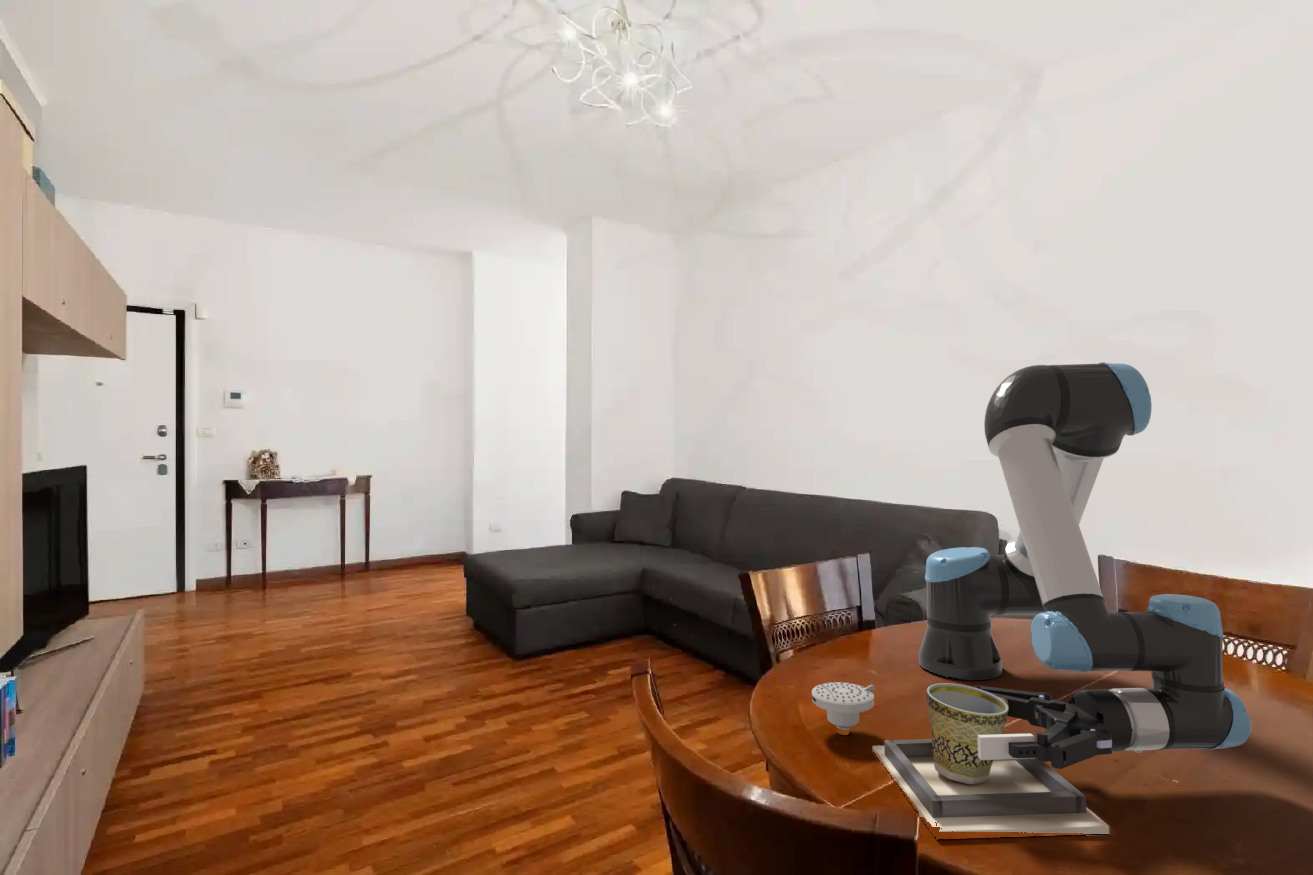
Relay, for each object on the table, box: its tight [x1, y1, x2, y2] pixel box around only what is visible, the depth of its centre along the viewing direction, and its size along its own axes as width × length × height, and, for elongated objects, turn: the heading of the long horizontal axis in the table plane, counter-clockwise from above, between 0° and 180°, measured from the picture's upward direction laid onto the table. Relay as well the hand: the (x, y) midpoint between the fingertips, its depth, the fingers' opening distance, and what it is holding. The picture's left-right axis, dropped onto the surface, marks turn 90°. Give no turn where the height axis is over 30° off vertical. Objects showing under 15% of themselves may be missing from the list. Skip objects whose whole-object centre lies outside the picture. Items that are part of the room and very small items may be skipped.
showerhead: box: [811, 681, 876, 730], centre depth 107 cm, size 9×7×10 cm
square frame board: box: [872, 738, 1110, 835], centre depth 89 cm, size 22×20×3 cm
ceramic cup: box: [925, 682, 1009, 785], centre depth 92 cm, size 13×10×10 cm
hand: (953, 723), depth 89 cm, fingers open, 13 cm apart
